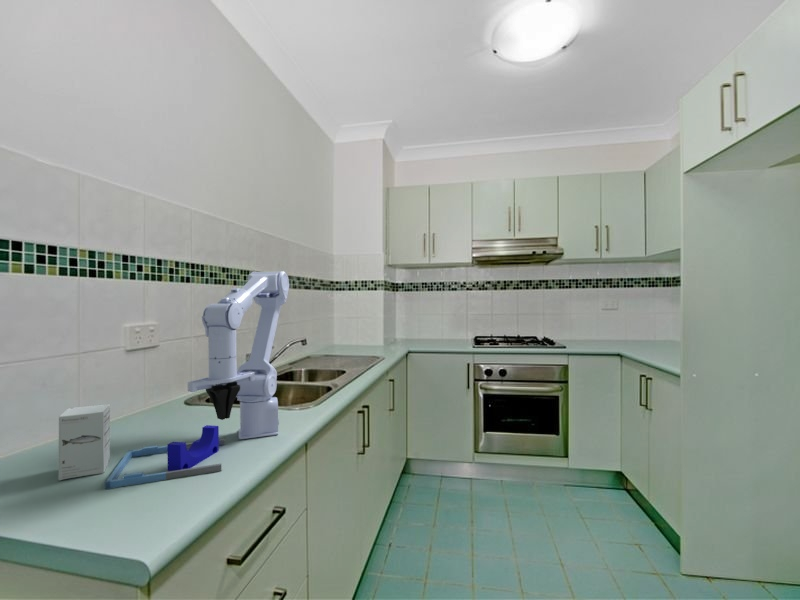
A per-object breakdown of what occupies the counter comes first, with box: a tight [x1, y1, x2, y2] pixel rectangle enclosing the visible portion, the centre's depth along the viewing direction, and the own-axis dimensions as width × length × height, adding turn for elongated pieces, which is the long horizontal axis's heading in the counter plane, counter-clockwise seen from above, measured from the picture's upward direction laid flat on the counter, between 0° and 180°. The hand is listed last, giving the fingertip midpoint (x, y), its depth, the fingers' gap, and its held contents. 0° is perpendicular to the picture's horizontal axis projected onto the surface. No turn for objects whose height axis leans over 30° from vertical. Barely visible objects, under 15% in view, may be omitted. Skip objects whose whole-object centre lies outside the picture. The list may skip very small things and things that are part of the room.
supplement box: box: [58, 403, 111, 481], centre depth 81 cm, size 7×7×13 cm
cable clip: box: [166, 425, 220, 472], centre depth 86 cm, size 12×4×6 cm, turn 169°
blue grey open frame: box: [104, 438, 225, 490], centre depth 84 cm, size 20×17×2 cm
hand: (223, 418), depth 88 cm, fingers closed
